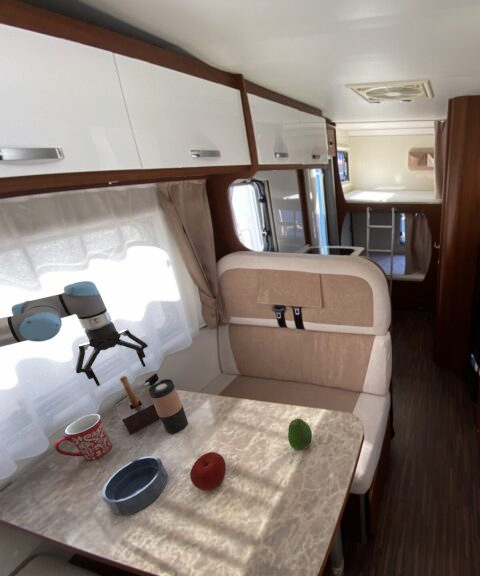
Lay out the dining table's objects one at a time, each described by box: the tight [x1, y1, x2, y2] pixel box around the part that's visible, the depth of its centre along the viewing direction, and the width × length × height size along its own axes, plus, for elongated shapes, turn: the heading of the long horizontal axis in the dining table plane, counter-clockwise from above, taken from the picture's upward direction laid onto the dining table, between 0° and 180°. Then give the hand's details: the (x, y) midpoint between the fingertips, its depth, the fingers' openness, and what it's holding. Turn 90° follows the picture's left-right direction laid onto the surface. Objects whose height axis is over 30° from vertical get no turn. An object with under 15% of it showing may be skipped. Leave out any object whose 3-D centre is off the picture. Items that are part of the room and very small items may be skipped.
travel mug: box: [147, 378, 189, 435], centre depth 113 cm, size 8×8×20 cm
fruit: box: [287, 418, 313, 451], centre depth 104 cm, size 8×8×12 cm
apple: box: [189, 451, 227, 491], centre depth 94 cm, size 10×10×10 cm
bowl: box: [101, 455, 169, 516], centre depth 93 cm, size 15×15×6 cm
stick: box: [119, 375, 140, 408], centre depth 117 cm, size 2×2×22 cm
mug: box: [54, 413, 112, 461], centre depth 104 cm, size 13×9×14 cm
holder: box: [116, 391, 161, 436], centre depth 119 cm, size 10×10×8 cm
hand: (122, 374), depth 112 cm, fingers open, 13 cm apart
